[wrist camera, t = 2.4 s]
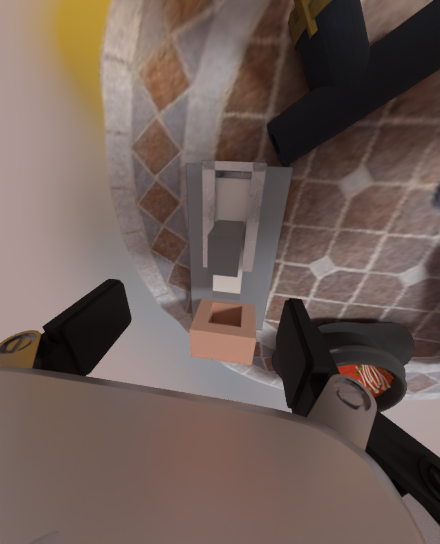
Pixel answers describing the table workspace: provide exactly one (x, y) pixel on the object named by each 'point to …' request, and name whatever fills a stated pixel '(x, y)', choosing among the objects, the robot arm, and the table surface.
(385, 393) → the casserole
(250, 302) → the base board
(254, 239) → the outer sleeve
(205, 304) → the socket block
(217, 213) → the sliding latch bolt
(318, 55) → the pipe connector
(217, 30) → the table surface
